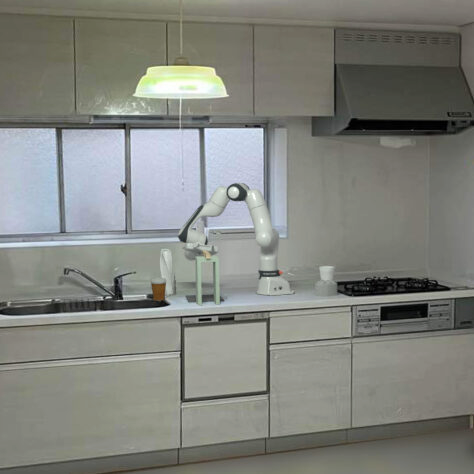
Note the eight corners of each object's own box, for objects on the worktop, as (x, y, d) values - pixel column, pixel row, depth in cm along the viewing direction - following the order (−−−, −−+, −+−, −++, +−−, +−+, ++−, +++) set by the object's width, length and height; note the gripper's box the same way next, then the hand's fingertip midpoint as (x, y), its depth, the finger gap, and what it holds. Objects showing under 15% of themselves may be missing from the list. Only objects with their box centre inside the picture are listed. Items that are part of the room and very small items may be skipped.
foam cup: (333, 288, 448) (333, 268, 447) (318, 288, 450) (318, 267, 449) (334, 286, 458) (334, 266, 456) (320, 286, 459) (320, 266, 458)
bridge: (217, 301, 409) (216, 255, 407) (219, 304, 400) (218, 257, 397) (196, 302, 408) (195, 256, 405) (198, 305, 398) (197, 258, 395)
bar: (202, 254, 414) (201, 250, 414) (206, 254, 414) (206, 250, 414) (206, 258, 395) (206, 253, 395) (210, 258, 396) (210, 253, 395)
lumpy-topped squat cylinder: (339, 295, 425) (339, 280, 425) (321, 297, 419) (321, 282, 418) (328, 292, 434) (328, 278, 434) (311, 294, 428) (310, 280, 427)
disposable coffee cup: (160, 301, 412) (159, 280, 411) (147, 300, 418) (146, 279, 416) (170, 298, 421) (170, 278, 420) (157, 297, 426) (157, 277, 425)
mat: (218, 295, 432) (218, 294, 432) (224, 300, 411) (224, 299, 411) (185, 296, 428) (185, 295, 428) (188, 302, 408) (188, 301, 408)
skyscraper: (169, 296, 430) (168, 249, 428) (158, 295, 434) (156, 248, 431) (176, 294, 438) (175, 248, 435) (165, 293, 441) (164, 247, 439)
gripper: (181, 243, 432) (189, 238, 420) (213, 247, 440) (222, 242, 427) (181, 253, 431) (188, 249, 418) (213, 257, 438) (221, 253, 426)
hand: (205, 246), depth 423 cm, fingers open, 8 cm apart
